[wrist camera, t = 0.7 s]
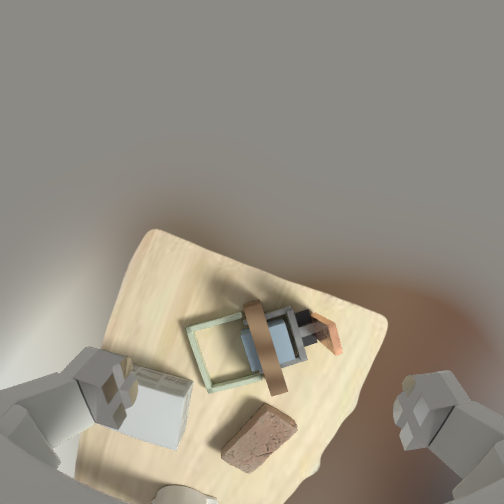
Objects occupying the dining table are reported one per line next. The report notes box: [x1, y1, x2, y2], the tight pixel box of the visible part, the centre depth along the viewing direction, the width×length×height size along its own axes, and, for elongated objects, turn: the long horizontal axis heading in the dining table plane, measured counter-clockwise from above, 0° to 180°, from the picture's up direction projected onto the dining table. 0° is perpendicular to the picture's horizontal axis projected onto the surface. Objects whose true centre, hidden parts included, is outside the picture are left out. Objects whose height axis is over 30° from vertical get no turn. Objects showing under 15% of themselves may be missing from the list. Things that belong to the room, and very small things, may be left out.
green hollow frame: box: [185, 312, 262, 394], centre depth 53 cm, size 14×11×2 cm
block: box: [241, 318, 296, 372], centre depth 52 cm, size 7×8×6 cm
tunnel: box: [243, 300, 288, 397], centre depth 50 cm, size 16×3×8 cm, turn 17°
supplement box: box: [100, 364, 194, 451], centre depth 49 cm, size 17×13×9 cm
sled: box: [243, 305, 343, 374], centre depth 47 cm, size 11×14×13 cm
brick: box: [221, 404, 298, 473], centre depth 50 cm, size 17×8×5 cm, turn 143°
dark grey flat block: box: [295, 310, 317, 347], centre depth 55 cm, size 7×3×1 cm, turn 17°
